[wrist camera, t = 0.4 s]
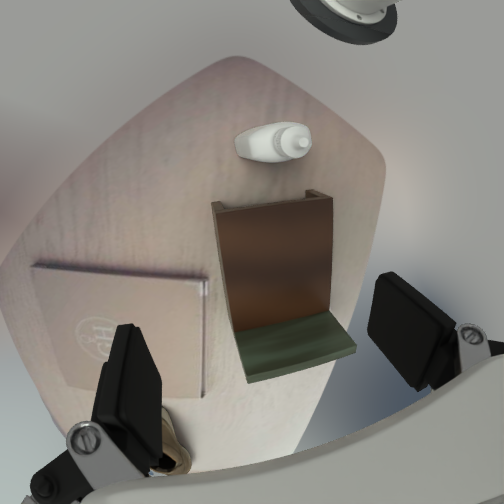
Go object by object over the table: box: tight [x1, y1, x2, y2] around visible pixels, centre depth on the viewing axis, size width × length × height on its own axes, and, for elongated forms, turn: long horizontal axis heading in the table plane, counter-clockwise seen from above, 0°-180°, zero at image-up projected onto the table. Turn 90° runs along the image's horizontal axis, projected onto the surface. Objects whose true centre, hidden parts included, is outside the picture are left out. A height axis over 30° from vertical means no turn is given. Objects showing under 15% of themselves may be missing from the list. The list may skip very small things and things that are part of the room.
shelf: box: [211, 189, 357, 384], centre depth 28 cm, size 15×12×12 cm
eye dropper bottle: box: [234, 122, 312, 163], centre depth 23 cm, size 4×6×12 cm
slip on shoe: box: [150, 408, 192, 476], centre depth 40 cm, size 30×11×9 cm, turn 174°
